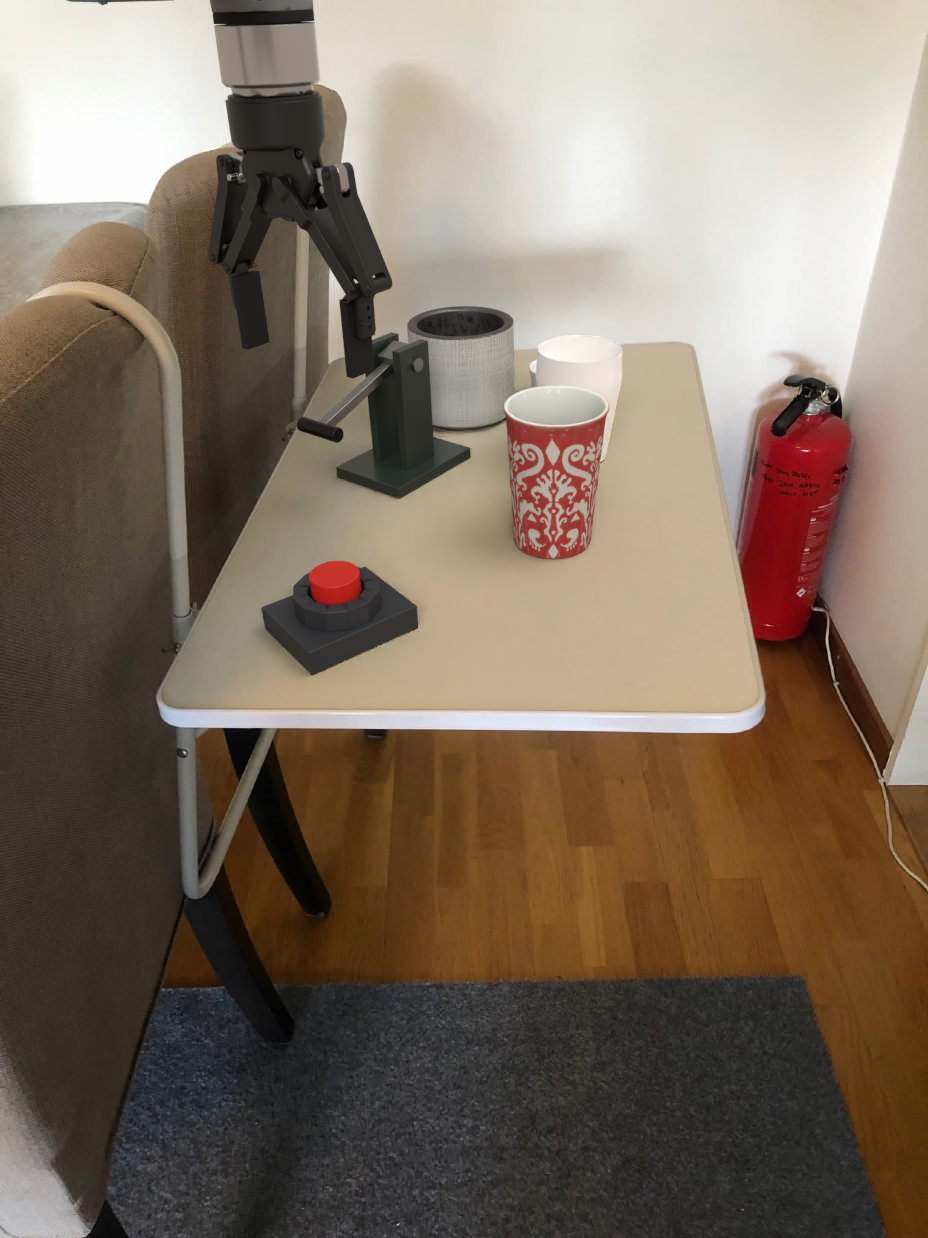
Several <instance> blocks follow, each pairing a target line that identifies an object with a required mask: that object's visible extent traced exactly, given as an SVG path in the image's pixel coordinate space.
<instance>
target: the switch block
mask: <svg viewBox="0 0 928 1238" xmlns="http://www.w3.org/2000/svg"><path fill="white" fill-rule="evenodd" d="M357 567H358V569H359V571H360V580H361V588H362V590H361V593H360V595H359V596H358V597H357V598H355V599H352V600H350V601H348V602H345V603H340V604H330V605H328V604H324V603H319V602H316V601H315V600H314V599H313V597H312V594H311V587H310V581H309V574H310V572H308V573H306V574H304V575H303V576H302V577H301V578H300V579H299V580H298V581H296V583H295V584H294V585H293V587H292V588H293V589H292V594H291V595H289V596H287V597H284V598H281V599H279V600H277V601H274V602H272V603H269V604H267V605H264V606H261V614H262V619H263V620H262V621H263V624H264V629H265V630H266V631H267V632H268V633H269V634H270V636H272V637H273V638H274V639H275V640H276V641H277V642H278V643H279V644H280V645H281V646H282V647H283V648H284V649H285V650H286V651H287V653H289V654H290V655H291V656H292V657H293V658H294V659H295V660H296V661H297V662H298V663H299V664H300V665H301V666H302V667H303V668H304V669H305V670H306V671H307V672H308V673H309V674H310V675H311V676H314V675H316V674H318V673H321V672H323V671H325V670H327V669H329V668H331V667H334V666H336V665H339V664H341V663H342V662H345V661H347V660H349V659H352V658H354V657H356V656H358V655H361V654H364V653H365V652H367V651H370V650H371V649H374V648H376V647H378V646H381V645H383V644H385V643H388V642H390V641H392V640H394V639H397V638H398V637H401V636H403V635H405V634H407V633H410V632H412V631H414V630H416V629H418V628H419V616H418V606H417V605H416V604H415V603H414V602H412V601H411V600H410V599H408V598H407V597H406V596H404V595H403V594H402V593H401V592H400V591H398V590H396V588H394V587H393V586H391V585H390V584H389V583H388V582H386V581H385V580H384V579H383V578H381V577H380V576H378V574H376V573H375V572H373V571H372V570H370V569H369V568H368V567H367V566H362V567H360V566H357Z"/></svg>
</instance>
